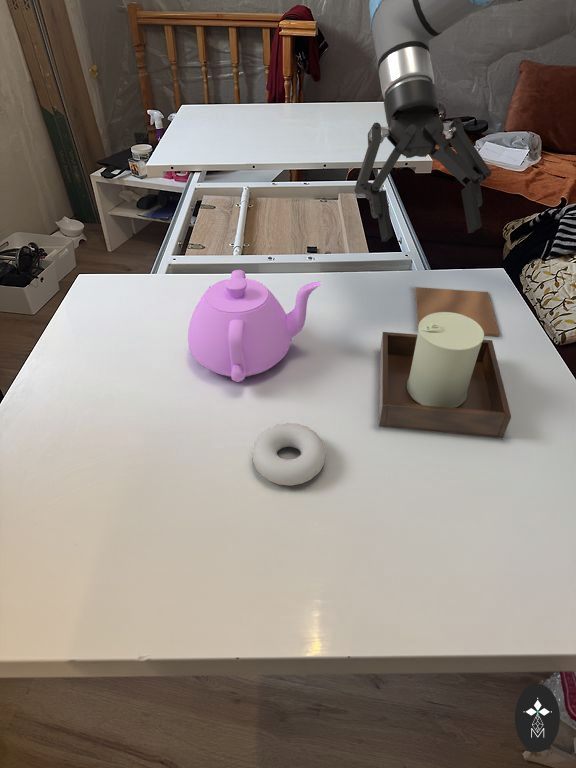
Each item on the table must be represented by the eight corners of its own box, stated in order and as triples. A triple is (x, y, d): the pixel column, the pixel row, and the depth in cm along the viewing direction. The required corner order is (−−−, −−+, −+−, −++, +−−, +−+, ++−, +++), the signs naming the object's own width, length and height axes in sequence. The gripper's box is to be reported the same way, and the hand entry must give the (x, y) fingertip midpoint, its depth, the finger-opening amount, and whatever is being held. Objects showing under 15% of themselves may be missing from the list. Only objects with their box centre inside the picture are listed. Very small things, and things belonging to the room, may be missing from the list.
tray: (485, 361, 89) (492, 340, 86) (502, 438, 76) (511, 416, 73) (379, 352, 91) (382, 331, 88) (378, 426, 78) (382, 405, 75)
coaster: (487, 294, 104) (488, 291, 104) (498, 336, 94) (499, 334, 94) (414, 289, 106) (415, 286, 105) (418, 330, 95) (418, 328, 95)
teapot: (324, 393, 83) (329, 320, 74) (184, 398, 82) (171, 325, 73) (312, 313, 99) (314, 246, 90) (195, 317, 99) (186, 249, 89)
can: (403, 369, 87) (414, 308, 79) (460, 371, 86) (477, 309, 78) (410, 409, 80) (424, 346, 72) (472, 411, 80) (492, 347, 72)
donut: (336, 478, 71) (309, 426, 78) (338, 462, 68) (310, 410, 75) (265, 500, 68) (243, 444, 75) (265, 484, 66) (242, 427, 73)
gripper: (474, 102, 84) (496, 234, 83) (320, 112, 80) (342, 250, 79) (500, 72, 76) (525, 216, 75) (332, 80, 72) (356, 233, 71)
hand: (431, 234), depth 77 cm, fingers open, 13 cm apart
